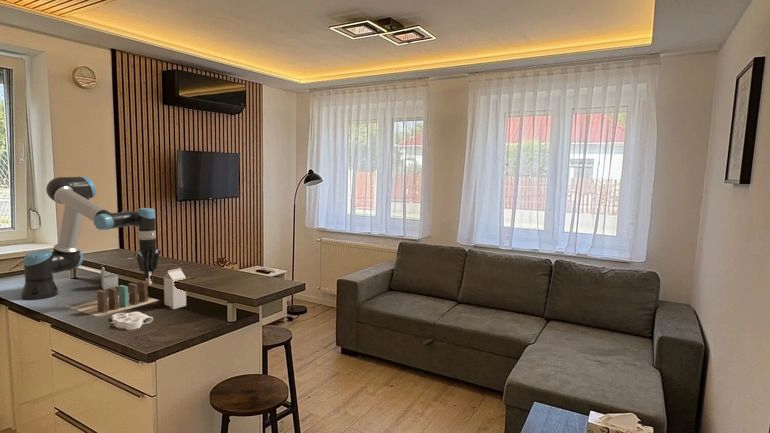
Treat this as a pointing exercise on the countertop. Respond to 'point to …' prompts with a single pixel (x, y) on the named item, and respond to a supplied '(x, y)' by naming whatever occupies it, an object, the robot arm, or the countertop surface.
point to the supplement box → (108, 279)
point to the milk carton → (174, 289)
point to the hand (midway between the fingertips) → (149, 283)
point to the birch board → (93, 307)
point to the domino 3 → (123, 296)
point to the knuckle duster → (130, 320)
